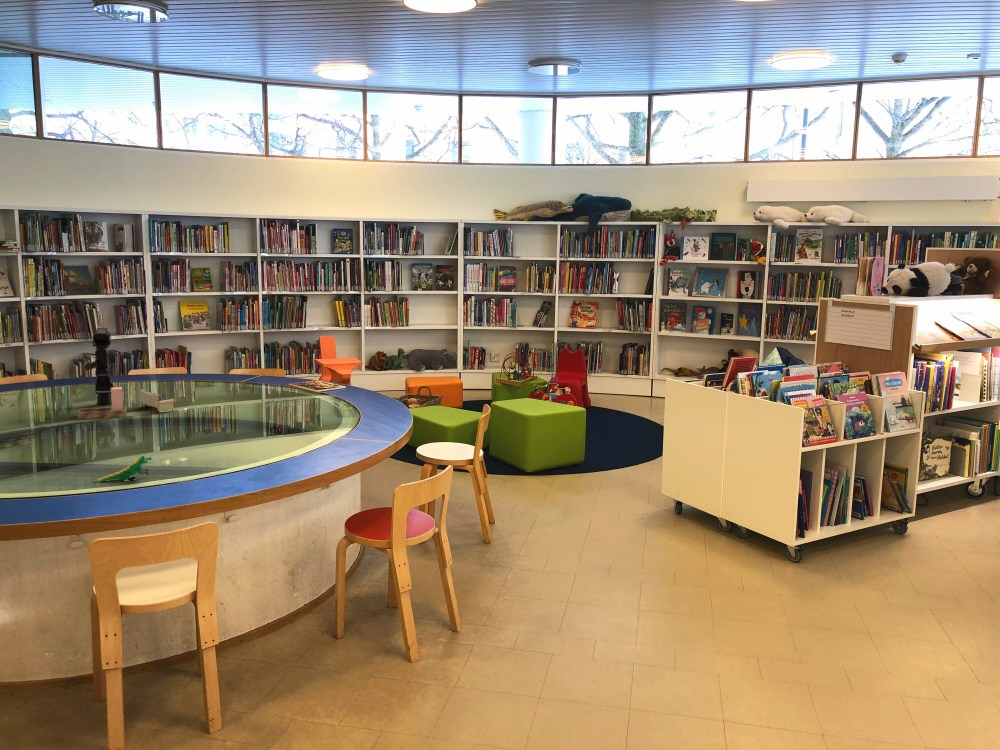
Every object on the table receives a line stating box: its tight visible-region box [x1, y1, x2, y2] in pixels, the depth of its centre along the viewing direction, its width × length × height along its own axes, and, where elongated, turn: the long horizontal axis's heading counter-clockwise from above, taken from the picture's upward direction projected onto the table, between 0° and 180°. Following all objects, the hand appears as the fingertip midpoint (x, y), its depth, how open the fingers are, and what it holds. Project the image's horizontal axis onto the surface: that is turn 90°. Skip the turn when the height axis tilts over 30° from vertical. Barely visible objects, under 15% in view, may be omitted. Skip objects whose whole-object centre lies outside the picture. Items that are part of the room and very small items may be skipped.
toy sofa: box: [139, 389, 175, 411], centre depth 428 cm, size 21×9×10 cm, turn 51°
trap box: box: [77, 406, 128, 420], centre depth 407 cm, size 22×10×4 cm, turn 115°
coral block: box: [110, 386, 124, 411], centre depth 409 cm, size 5×5×12 cm
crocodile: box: [93, 455, 152, 483], centre depth 303 cm, size 20×6×9 cm, turn 113°
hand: (103, 385), depth 420 cm, fingers open, 9 cm apart
